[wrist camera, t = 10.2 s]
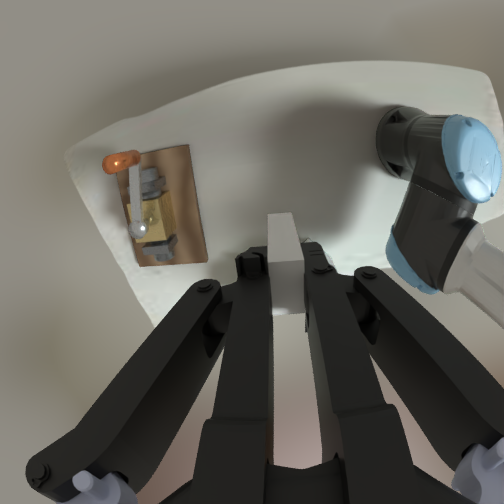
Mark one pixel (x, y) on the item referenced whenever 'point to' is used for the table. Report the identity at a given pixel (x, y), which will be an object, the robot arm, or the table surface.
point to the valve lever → (133, 162)
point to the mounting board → (184, 205)
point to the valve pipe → (157, 217)
